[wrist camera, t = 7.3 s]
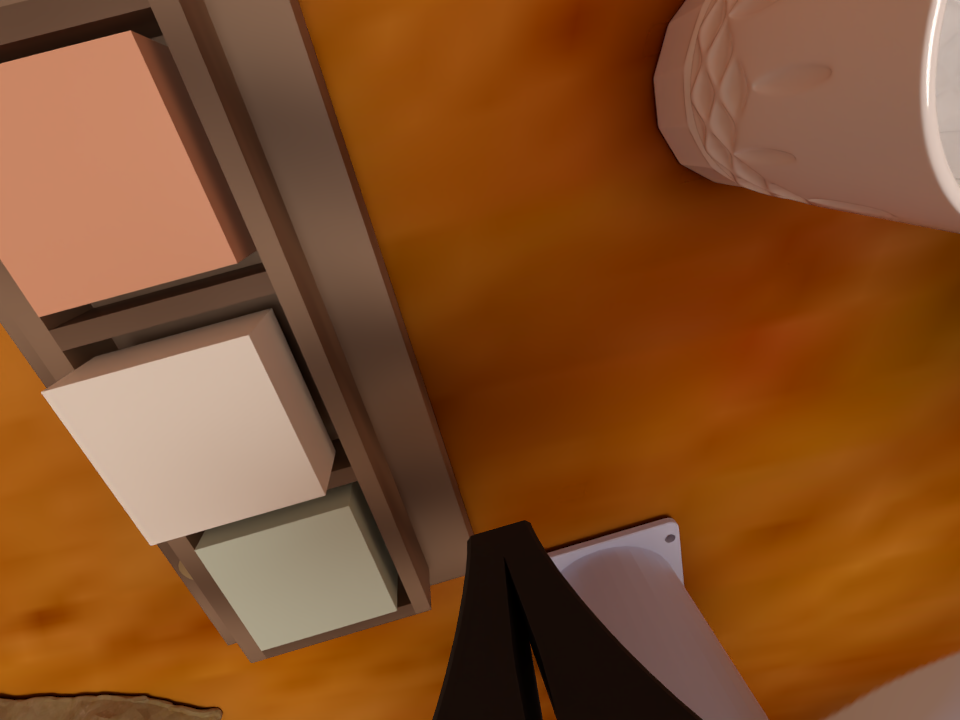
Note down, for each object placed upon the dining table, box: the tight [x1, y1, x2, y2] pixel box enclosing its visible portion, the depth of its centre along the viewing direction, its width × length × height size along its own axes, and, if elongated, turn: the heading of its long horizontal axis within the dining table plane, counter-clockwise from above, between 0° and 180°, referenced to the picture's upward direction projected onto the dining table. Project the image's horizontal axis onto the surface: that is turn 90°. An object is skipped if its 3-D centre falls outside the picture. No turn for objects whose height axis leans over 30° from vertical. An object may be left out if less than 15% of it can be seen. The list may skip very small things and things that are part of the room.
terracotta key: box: [0, 30, 257, 317], centre depth 12 cm, size 5×5×2 cm
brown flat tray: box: [0, 0, 474, 663], centre depth 16 cm, size 22×11×4 cm, turn 14°
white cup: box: [653, 0, 960, 234], centre depth 12 cm, size 8×8×10 cm
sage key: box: [194, 481, 398, 651], centre depth 17 cm, size 5×5×2 cm
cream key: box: [41, 308, 336, 546], centre depth 14 cm, size 5×5×2 cm
